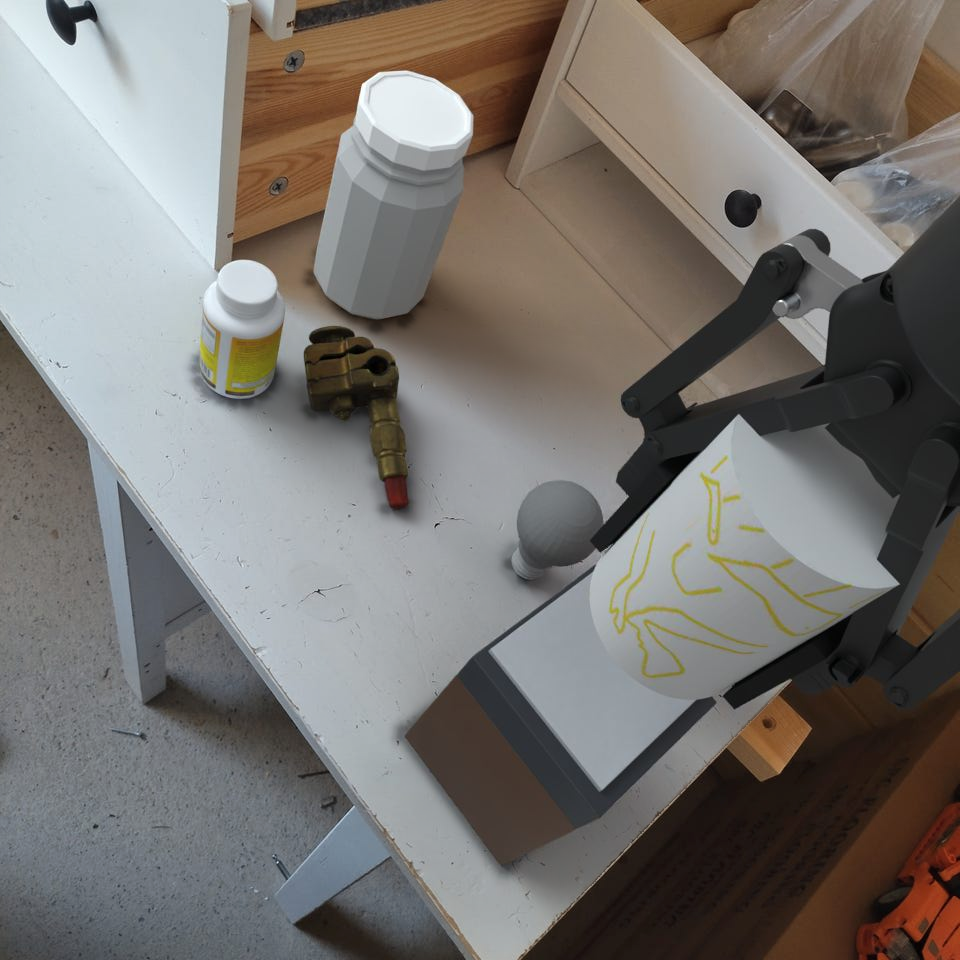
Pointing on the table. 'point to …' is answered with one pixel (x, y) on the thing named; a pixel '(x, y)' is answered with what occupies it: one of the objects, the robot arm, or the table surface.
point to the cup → (742, 560)
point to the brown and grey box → (546, 728)
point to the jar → (392, 194)
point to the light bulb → (555, 527)
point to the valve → (361, 397)
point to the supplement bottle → (241, 330)
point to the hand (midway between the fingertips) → (678, 607)
